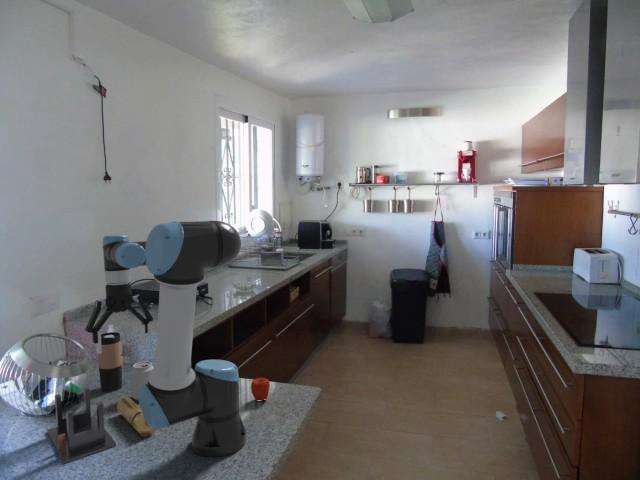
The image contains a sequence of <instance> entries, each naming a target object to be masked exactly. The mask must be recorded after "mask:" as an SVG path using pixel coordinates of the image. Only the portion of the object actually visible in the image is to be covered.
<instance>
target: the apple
mask: <svg viewBox="0 0 640 480" xmlns="http://www.w3.org/2000/svg"><path fill="white" fill-rule="evenodd" d="M269 380H270V379H267V378H266V377H257V378H255V379H253V380H252V381H251V383H250V389H251V393H252V396H253V398H254V399H255V400H256V399H257V400H264V399H266V400H267V399H268V396H269V391H270V382H271V381H269ZM257 400H256V401H257Z"/></svg>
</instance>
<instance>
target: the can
mask: <svg viewBox="0 0 640 480" xmlns="http://www.w3.org/2000/svg"><path fill="white" fill-rule="evenodd" d="M154 368H155V365H154V366H153V363H152V362H151V361H146V360H145V361H139V362H136V363H134V364H133V365H132V368H131V369H130V375H131V377H130V378H131V379H130V380H131V398H133V399H134V400H136V401H137V402H139V399H138V390H139V388H140V386H142V385H143V384H148V375H149V373H150V372H151V371H152V370H153V369H154Z"/></svg>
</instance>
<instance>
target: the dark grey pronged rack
mask: <svg viewBox="0 0 640 480" xmlns="http://www.w3.org/2000/svg"><path fill="white" fill-rule="evenodd" d="M90 390H91V389H90V388H89V386H85V387H83V390H82V391H83V406H84V410H81V411H80V410H79V411H77V412H73V411H72V410H67V411H66V412H65V415H63V410H62V409H63V408H62V407H63V406H62V395H60V394H59V393H58V394H55V395H54V403H55V404H54V406H55V418H56V420H55V421H56V426H55V427H51V428H49V429H47V430H46V432H47V434H48V436H49V438H50V439H51V442H52V444H53V445H54V448H55V447H56V448H55V450H56V451H57V453H58V455H59V457H60V458H61V460H62V462H63V464H64V465H65V464H68V463H71V462H74V461H76V460H81V459H82V458H85V457H88V456H91V455H94V454H96V453H100V452H102V451H103V452H104V451H106V450H109V449H111V448H114V447H116V446H117V442H116V441H115V440H114V439H113V438H112V436H111V434H109V432H108V431H107V430H106V429H105V414H104V413H105V412H104V403H103V402H102V401H99V402H96V417H97V418H96V417H95V415H92V411H91V410H92V409H91V394H90V393H91V391H90Z"/></svg>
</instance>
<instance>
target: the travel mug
mask: <svg viewBox="0 0 640 480" xmlns="http://www.w3.org/2000/svg"><path fill="white" fill-rule="evenodd" d="M121 342H122V341H121V333H119V332H114V331H113V332H106V333H105V332H104V333H101V347H102V354H99V353H97V354H98V355H97V356H98V372H99V381H100V382H99V383H100V389H101V390H100V391H101V392H103V393H111V392H115V391H118V390H121V389H122V387H123V360H122V359H123V358H122V346H121V344H122V343H121Z"/></svg>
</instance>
